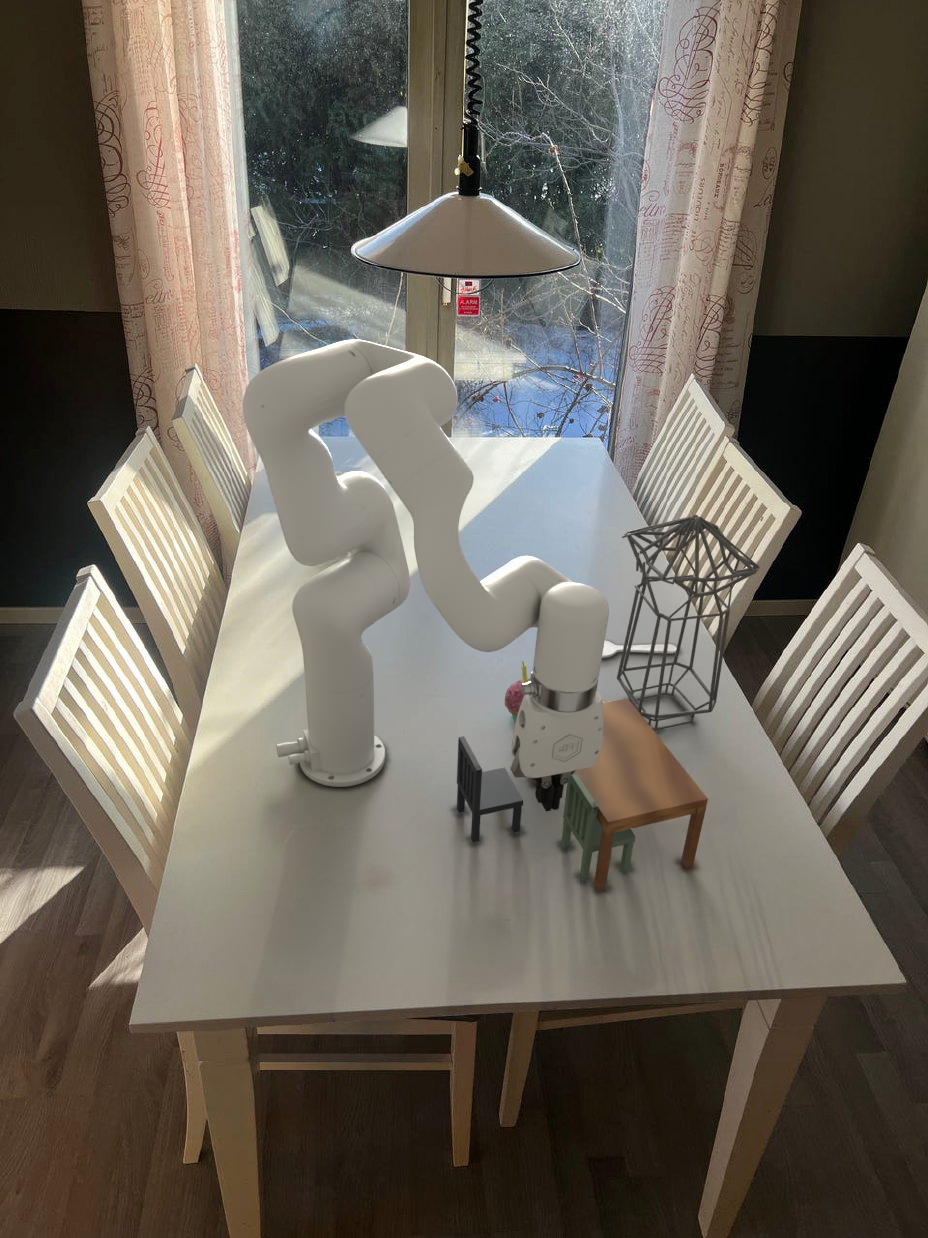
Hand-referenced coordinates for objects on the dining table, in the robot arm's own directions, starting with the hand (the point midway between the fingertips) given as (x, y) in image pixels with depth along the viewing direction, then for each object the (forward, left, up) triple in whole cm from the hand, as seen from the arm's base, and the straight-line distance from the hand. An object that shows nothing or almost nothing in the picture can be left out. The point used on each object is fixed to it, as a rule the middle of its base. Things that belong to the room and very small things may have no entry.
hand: (547, 802), depth 124 cm
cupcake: (+10, +28, -12) cm, 32 cm away
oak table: (+12, +5, -11) cm, 17 cm away
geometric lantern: (+31, +24, -12) cm, 41 cm away
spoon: (+34, +42, -11) cm, 56 cm away
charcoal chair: (-4, +10, -11) cm, 16 cm away
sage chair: (+8, -1, -11) cm, 14 cm away
